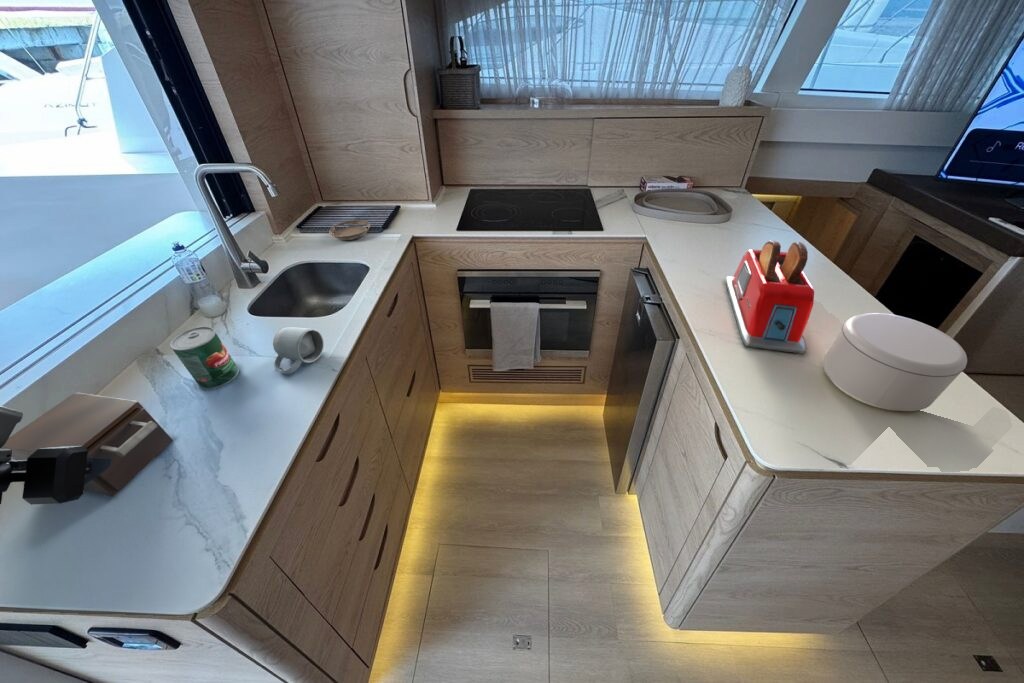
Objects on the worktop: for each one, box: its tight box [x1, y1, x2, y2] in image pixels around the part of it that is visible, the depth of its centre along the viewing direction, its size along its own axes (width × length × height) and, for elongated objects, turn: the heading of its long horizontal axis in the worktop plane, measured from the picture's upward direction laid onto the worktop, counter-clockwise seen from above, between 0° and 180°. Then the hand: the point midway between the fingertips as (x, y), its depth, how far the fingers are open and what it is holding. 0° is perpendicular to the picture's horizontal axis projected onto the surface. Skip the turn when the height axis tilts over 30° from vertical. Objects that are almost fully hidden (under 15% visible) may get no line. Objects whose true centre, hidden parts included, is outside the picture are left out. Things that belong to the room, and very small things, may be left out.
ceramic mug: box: [272, 326, 325, 375], centre depth 88 cm, size 11×8×8 cm
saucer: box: [328, 219, 371, 241], centre depth 147 cm, size 15×15×3 cm
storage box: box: [0, 391, 173, 497], centre depth 67 cm, size 14×12×11 cm
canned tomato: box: [169, 326, 240, 390], centre depth 84 cm, size 8×8×11 cm
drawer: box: [86, 408, 174, 492], centre depth 66 cm, size 17×10×9 cm, turn 79°
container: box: [822, 312, 968, 412], centre depth 76 cm, size 18×18×12 cm
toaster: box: [725, 240, 815, 354], centre depth 94 cm, size 32×13×19 cm, turn 164°
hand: (76, 463), depth 54 cm, fingers open, 9 cm apart
